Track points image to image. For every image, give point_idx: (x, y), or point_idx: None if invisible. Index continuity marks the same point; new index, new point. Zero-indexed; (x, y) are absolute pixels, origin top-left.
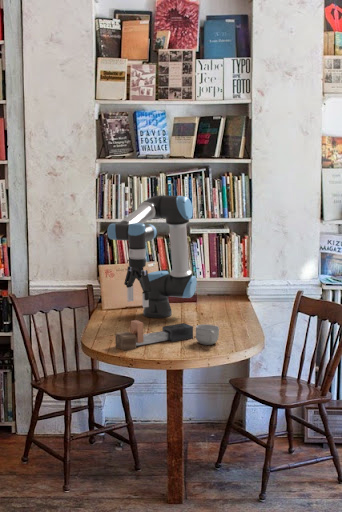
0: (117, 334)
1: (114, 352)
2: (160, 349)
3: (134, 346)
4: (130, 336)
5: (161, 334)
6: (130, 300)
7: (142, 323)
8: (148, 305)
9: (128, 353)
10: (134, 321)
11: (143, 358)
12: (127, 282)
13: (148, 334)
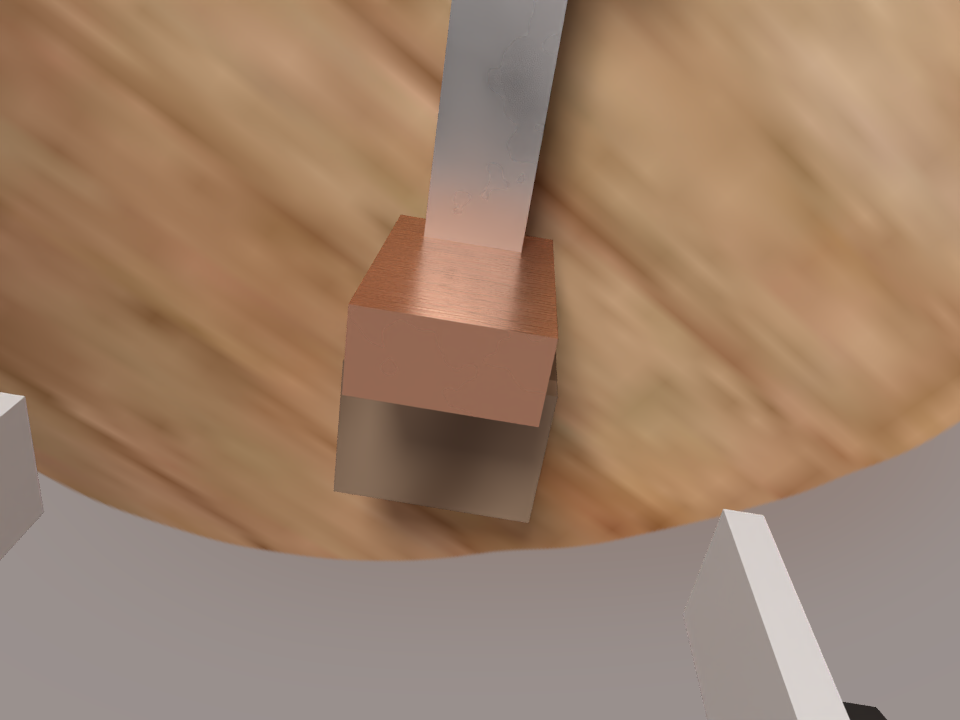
0: (383, 496)
1: None
2: (776, 161)
3: None
4: (543, 453)
5: None
6: (24, 479)
7: (555, 347)
8: (771, 541)
9: (622, 461)
10: (404, 380)
11: (837, 465)
12: None
13: (481, 110)
